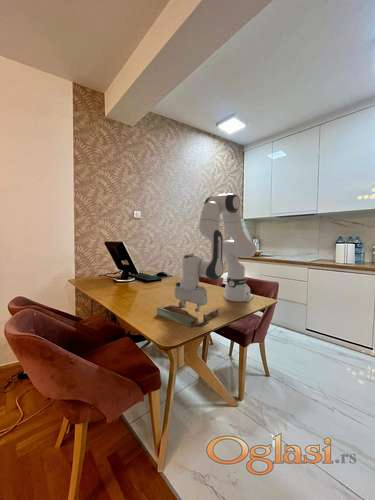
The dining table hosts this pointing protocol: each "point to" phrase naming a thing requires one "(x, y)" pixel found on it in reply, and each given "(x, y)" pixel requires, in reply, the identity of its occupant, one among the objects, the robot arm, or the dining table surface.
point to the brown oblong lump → (181, 312)
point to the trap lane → (181, 318)
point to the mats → (198, 324)
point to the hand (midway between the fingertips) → (190, 309)
